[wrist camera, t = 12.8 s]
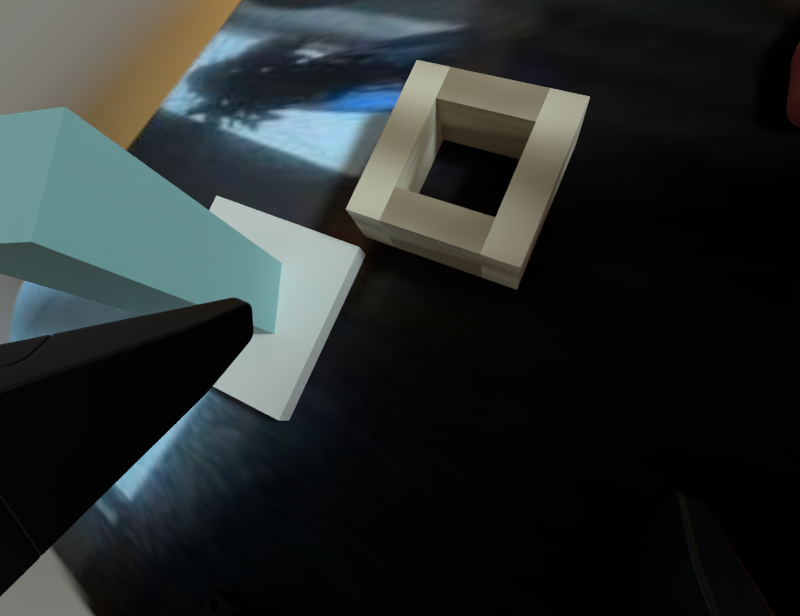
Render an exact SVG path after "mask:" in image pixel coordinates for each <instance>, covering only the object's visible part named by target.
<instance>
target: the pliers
mask: <svg viewBox="0 0 800 616" xmlns="http://www.w3.org/2000/svg"><path fill="white" fill-rule="evenodd" d="M786 113H787V117H788V119H789V121H790V122H791V123H792V124H793V125H795V126H797V127H799V128H800V42H799V44H798V45H797V48H796V50H795V53H794V55H793V57H792V61H791V69H790V79H789V88H788V98H787V107H786Z"/></svg>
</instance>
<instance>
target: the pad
mask: <svg viewBox="0 0 800 616" xmlns="http://www.w3.org/2000/svg"><path fill="white" fill-rule="evenodd" d="M209 211H210V212H212V213H213V214H214V215H216V216H217V217H219V218H220V219H221V220H223V221H224V222H225V223H227V224H228V225H230V226H231V227H232V228H234V229H235V230H237V231H238V232H239V233H241V234H242V235H243V236H245V237H246V238H248V239H249V240H250V241H252V242H253V243H255V244H256V245H257V246H259V247H260V248H261V249H263V250H264V251H266V252H267V253H268V254H270V255H271V256H273V257H274V258H275V259H277V260H278V261H280V262H281V263H282V268H281V277H280V287H279V296H278V306H277V316H276V325H275V334H253V336H252V339H251V341H250V342H249V343H248V345H247V346H246V347H245V348H244V349H243V351H242V352H241V353H240V354H239V355H238V357H237V358H236V359H235V360H234V361H233V363H232V364H231V365H230V366H229V367H228V369H227V370H226V371H225V372H224V373H223V375H222V376H221V377H220V378H219V379H218V381H217V382H216V383H215V384H214V385H213V387H215V388H217V389H219V390H221V391H223V392H225V393H227V394H229V395H230V396H232V397H234V398H236V399H238V400H240V401H242V402H244V403H246V404H248V405H250V406H252V407H254V408H255V409H257V410H259V411H261V412H263V413H265V414H267V415H269V416H271V417H273V418H275V419H277V420H279V421H286V420H290V418H291V416H292V413H293V411H294V409H295V407H296V405H297V403H298V400H299V398H300V396H301V394H302V392H303V390H304V387H305V385H306V383H307V381H308V379H309V377H310V375H311V372H312V370H313V368H314V366H315V364H316V362H317V359H318V357H319V355H320V353H321V351H322V349H323V346H324V344H325V342H326V340H327V338H328V336H329V333H330V331H331V329H332V327H333V325H334V323H335V320H336V318H337V316H338V314H339V312H340V310H341V307H342V305H343V303H344V301H345V299H346V297H347V294H348V292H349V290H350V288H351V286H352V284H353V282H354V279H355V277H356V275H357V273H358V271H359V269H360V266H361V264H362V262H363V260H364V258H365V256H366V254H365V253H364V252H363V251H362V249H361V248H360V247H358V246H355V245H352V244H350V243H347V242H344V241H341V240H339V239H336V238H333V237H330V236H327V235H325V234H322V233H319V232H316V231H314V230H311V229H308V228H305V227H302V226H300V225H297V224H294V223H291V222H289V221H286V220H283V219H280V218H277V217H275V216H272V215H269V214H266V213H264V212H261V211H258V210H255V209H252V208H250V207H247V206H244V205H241V204H239V203H236V202H233V201H230V200H227V199H225V198H222V197H219V196H216V198H215V200H214V202H213V204H212V206H211V208H210V210H209Z"/></svg>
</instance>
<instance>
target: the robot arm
mask: <svg viewBox="0 0 800 616" xmlns="http://www.w3.org/2000/svg"><path fill="white" fill-rule="evenodd" d="M253 333H254V327H253V313H252V307H251V305H250V304H249V303H248V302H246V301H243V300H241V299H239V298H235V297H232V298H227V299H222V300H217V301H212V302H208V303H203V304H198V305H193V306H188V307H183V308H178V309H173V310H169V311H164V312H159V313H154V314H149V315H144V316H139V317H134V318H129V319H125V320H120V321H115V322H110V323H105V324H100V325H95V326H90V327H85V328H81V329H76V330H71V331H66V332H61V333H56V334H53V335H52V336H51V335H46V336H41V337H36V338H32V339H27V340H22V341H16V342H11V343H6V344H1V345H0V596H1V595H2V594H3V593H4V592H5V591H6V590H7V589H8V588H9V587H10V586H11V585H13V584H14V583H15V582H16V580H18V579H19V578H20V577H21V576H22V575H23V574H24V573H25V572H26V571H27V569H29V568H30V567H31V566H32V565H33V564H34V563H35V562H36V561H37V560H38V559H39V557H40V556H41V555H42V554H43V553H45V552H46V551H47V550H48V549H49V548H50V547H51V546H52V545H53V544H54V543H55V542H56V541H57V540H58V539H59V538H60V537H61V536H62V535H63V534H64V533H65V532H66V531H67V530H68V529H69V528H70V527H71V526H72V525H73V524H74V523H75V522H76V521H77V520H78V519H79V518H80V517H81V516H82V515H83V514H84V513H85V512H86V511H87V510H88V509H89V508H90V507H91V506H92V505H93V504H94V503H95V502H96V501H97V500H99V499H100V498H101V497H102V496H103V495H104V494H105V493H106V492H107V491H108V490H109V489H110V488H111V487H112V486H113V485H114V484H115V483H116V482H117V481H118V480H119V479H120V478H121V477H122V476H123V475H124V474H125V473H126V472H127V471H128V470H129V469H130V468H131V467H132V466H133V465H134V464H135V463H136V462H137V461H138V460H139V459H140V458H141V457H142V456H143V455H144V454H145V453H146V452H147V451H148V450H149V449H150V448H151V447H152V446H153V445H154V444H155V443H156V442H157V441H158V440H159V439H160V438H161V437H163V436H164V435H165V434H166V433H167V432H168V431H169V430H170V429H171V428H172V427H173V426H174V425H175V424H176V423H177V422H178V421H179V420H180V419H181V418H182V417H183V416H184V415H185V414H186V413H187V412H188V411H189V410H190V409H191V408H192V407H193V406H194V405H195V404H196V403H197V402H198V401H199V400H200V399H201V398H202V397H203V396H204V395H205V394H206V393H207V392H208V391H209V390H210V389H211V387H212V386H213V385H214V384H215V383H216V382H217V381H218V379H219V378H220V377H221V376H222V375H223V373H224V372H225V371H226V370H227V369H228V367H229V366H230V365H231V364H232V363H233V361H234V360H235V359H236V358H237V357H238V355H239V354H240V353H241V352H242V351H243V349H244V348H245V347H246V346H247V345H248V343H249V342H250V341H251V339H252V336H253ZM215 599H216V600H217V601H218V603H219V607H216V606H215V603H214V601H215ZM199 616H263V615H261V614H260V613H258V612H257V611H256V610H254V609H253V608H251V607H250V606H248V605H242V604H241V603H239V602H238V601H236V600H235V599H234V598H232V597H231V596H229V595H228V594H226V593H225V592H223V591H221V590H219V591H216V592H214V593H212V594H211V595H209V596H208V598H207V599H206V601H205V603H204V605H203V608H202V610H201V612H200V614H199ZM635 616H775V615H774V614H773V612H772V611H771V609H770V607H769V606H768V604H767V603H766V601H765V599H764V598H763V596H762V595H761V593H760V591H759V590H758V588H757V586H756V585H755V583H754V582H753V580H752V578H751V577H750V575H749V574H748V572H747V570H746V569H745V567H744V566H743V564H742V562H741V561H740V559H739V557H738V556H737V554H736V553H735V551H734V549H733V548H732V546H731V545H730V543H729V541H728V540H727V538H726V537H725V535H724V533H723V532H722V530H721V529H720V527H719V525H718V524H717V522H716V520H715V519H714V517H713V516H712V514H711V512H710V511H709V509H708V508H707V506H706V505H705V504H704V503H703V502H702V501H700V500H698V499H696V498H693V497H691V496H689V495H687V494H684V493H682V492H674V493H673V494H672V495H670V497H669V498H668V499H667V500H666V501H665V502H664V503H663V505H662V506H661V507H660V508H659V509H658V510H657V511H656V513H655V514H654V515H653V516H652V518H651V520H650V523H649V526H648V531H647V538H646V545H645V551H644V558H643V565H642V571H641V578H640V585H639V591H638V598H637V606H636V614H635Z"/></svg>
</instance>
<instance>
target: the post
mask: <svg viewBox="0 0 800 616" xmlns="http://www.w3.org/2000/svg"><path fill="white" fill-rule="evenodd" d="M281 268H282V263H281V262H280V261H278V260H277V259H275V258H274V257H273V256H271V255H270V254H268V253H267V252H266V251H264V250H263V249H261V248H260V247H259V246H257V245H256V244H255V243H253V242H252V241H250V240H249V239H248V238H246V237H245V236H243V235H242V234H241V233H239V232H238V231H237V230H235V229H234V228H232V227H231V226H230V225H228V224H227V223H225V222H224V221H223V220H221V219H220V218H219V217H217V216H216V215H214V214H213V213H212V212H210V211H209V210H207V209H206V208H205V207H203V206H202V205H201V204H199V203H198V202H196V201H195V200H194V199H192V198H191V197H189V196H188V195H187V194H185V193H184V192H182V191H181V190H180V189H178V188H177V187H176V186H174V185H173V184H171V183H170V182H169V181H167V180H166V179H164V178H163V177H162V176H160V175H159V174H158V173H156V172H155V171H153V170H152V169H151V168H149V167H148V166H146V165H145V164H144V163H142V162H141V161H140V160H138V159H137V158H135V157H134V156H133V155H131V154H130V153H128V152H127V151H126V150H124V149H123V148H121V147H120V146H119V145H117V144H116V143H114V142H113V141H112V140H110V139H109V138H108V137H106V136H105V135H103V134H102V133H101V132H99V131H98V130H97V129H95V128H94V127H92V126H91V125H89V124H88V123H87V122H85V121H84V120H83V119H81V118H80V117H78V116H77V115H76V114H74V113H73V112H71V111H70V110H69V109H67V108H66V107H59V108H51V109H44V110H37V111H29V112H22V113H14V114H8V115H0V273H1V274H4V275H8V276H11V277H15V278H18V279H22V280H25V281H28V282H32V283H35V284H39V285H42V286H46V287H49V288H53V289H56V290H59V291H63V292H66V293H70V294H73V295H77V296H80V297H84V298H87V299H91V300H94V301H97V302H101V303H104V304H108V305H111V306H115V307H118V308H122V309H125V310H128V311H132V312H135V313H139V314H142V315H149V314H154V313H159V312H164V311H169V310H173V309H178V308H183V307H188V306H193V305H198V304H203V303H208V302H212V301H217V300H222V299H227V298H232V297H235V298H239V299H241V300H243V301H246V302H248V303H249V304H250V305H251V307H252V313H253V327H254V333H253V334H275V325H276V316H277V306H278V296H279V287H280V277H281Z"/></svg>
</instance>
